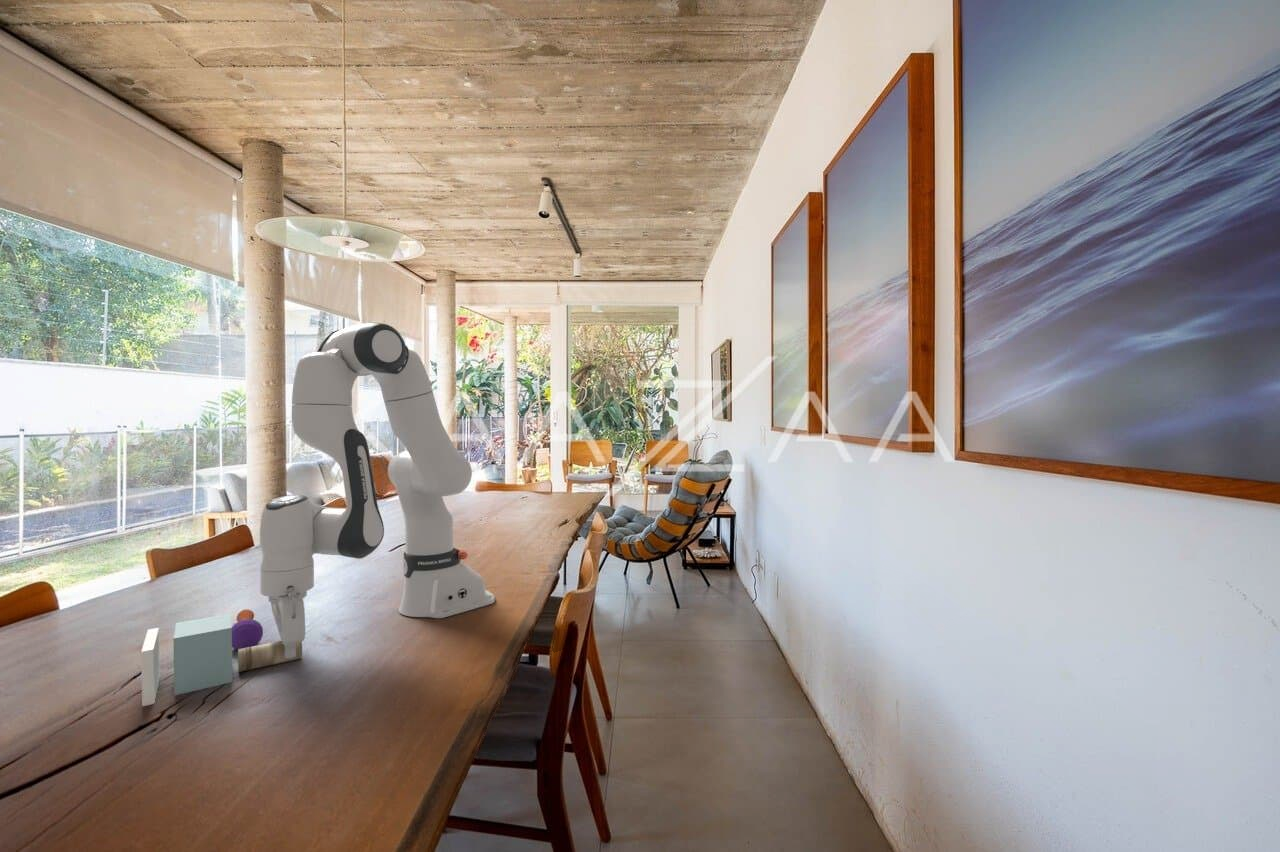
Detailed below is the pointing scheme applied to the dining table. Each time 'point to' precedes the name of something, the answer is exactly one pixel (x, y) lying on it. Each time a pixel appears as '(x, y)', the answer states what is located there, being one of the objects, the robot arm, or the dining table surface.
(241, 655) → the dowel
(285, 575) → the robot arm
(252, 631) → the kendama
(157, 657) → the slab
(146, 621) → the dining table surface
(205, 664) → the block
